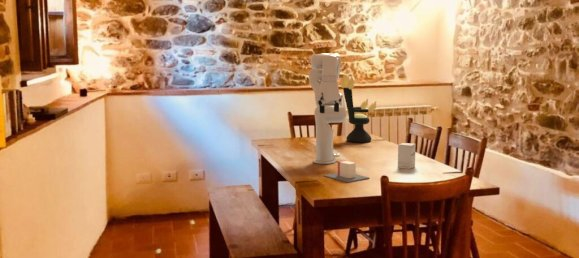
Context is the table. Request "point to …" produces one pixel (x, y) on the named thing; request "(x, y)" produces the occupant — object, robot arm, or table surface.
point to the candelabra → (357, 119)
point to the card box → (346, 169)
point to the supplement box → (406, 155)
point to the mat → (344, 179)
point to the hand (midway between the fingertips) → (329, 112)
